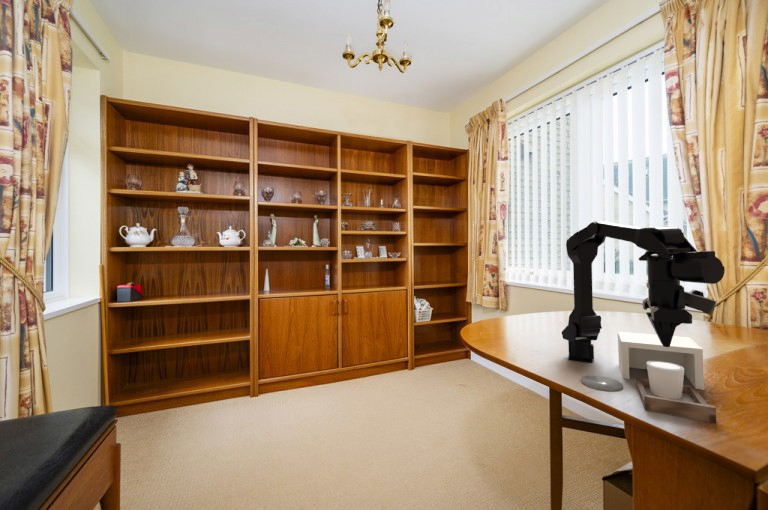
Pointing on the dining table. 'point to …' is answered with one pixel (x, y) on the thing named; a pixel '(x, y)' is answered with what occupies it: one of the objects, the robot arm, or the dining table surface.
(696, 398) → the tray
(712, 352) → the dining table surface
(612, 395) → the dining table surface
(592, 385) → the coaster
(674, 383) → the white tapered cup
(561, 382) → the dining table surface
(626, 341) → the cubby
